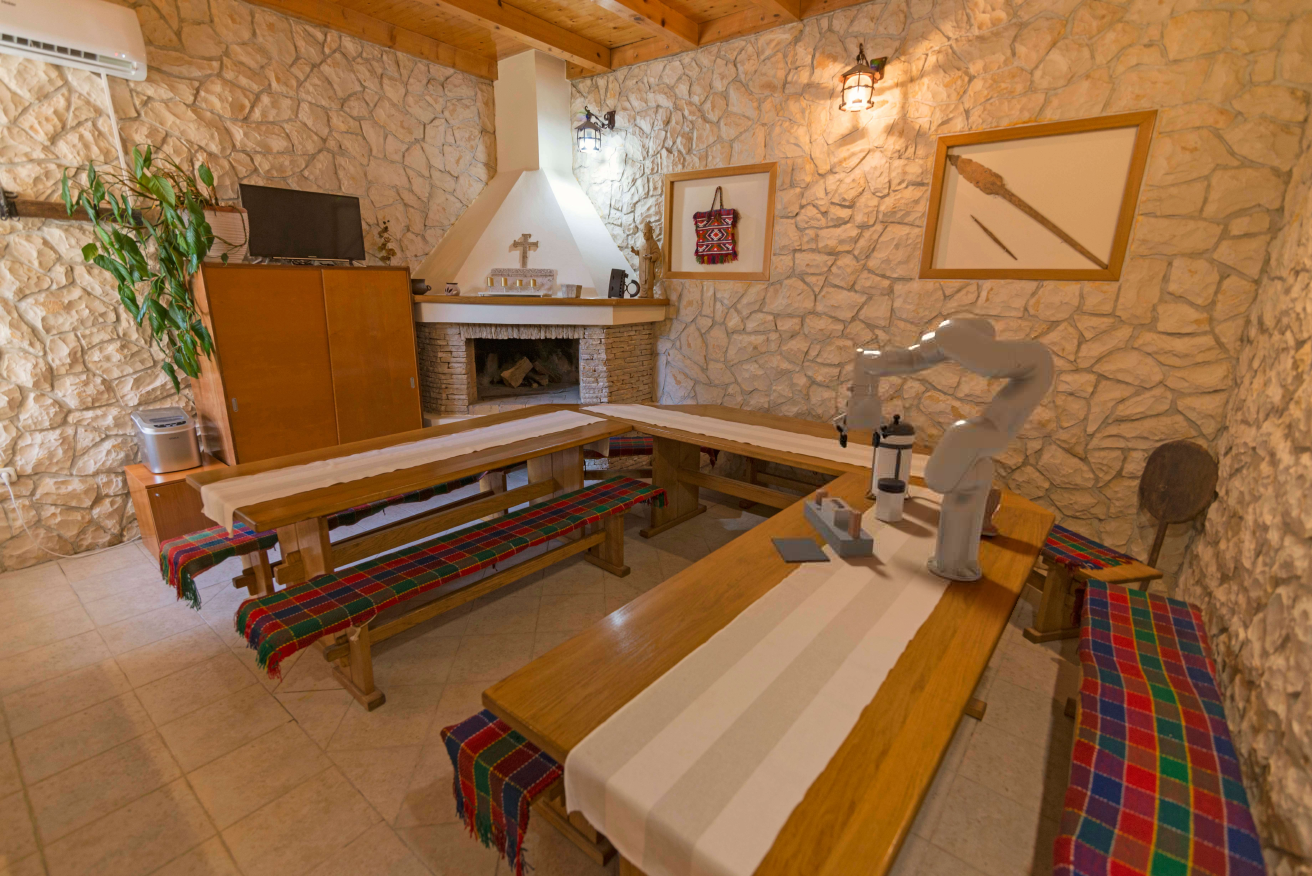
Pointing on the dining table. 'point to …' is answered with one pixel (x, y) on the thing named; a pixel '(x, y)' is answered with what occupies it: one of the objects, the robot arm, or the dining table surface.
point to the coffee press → (893, 454)
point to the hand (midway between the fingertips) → (859, 446)
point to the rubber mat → (799, 549)
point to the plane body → (839, 530)
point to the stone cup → (991, 511)
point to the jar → (889, 499)
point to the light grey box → (836, 511)
